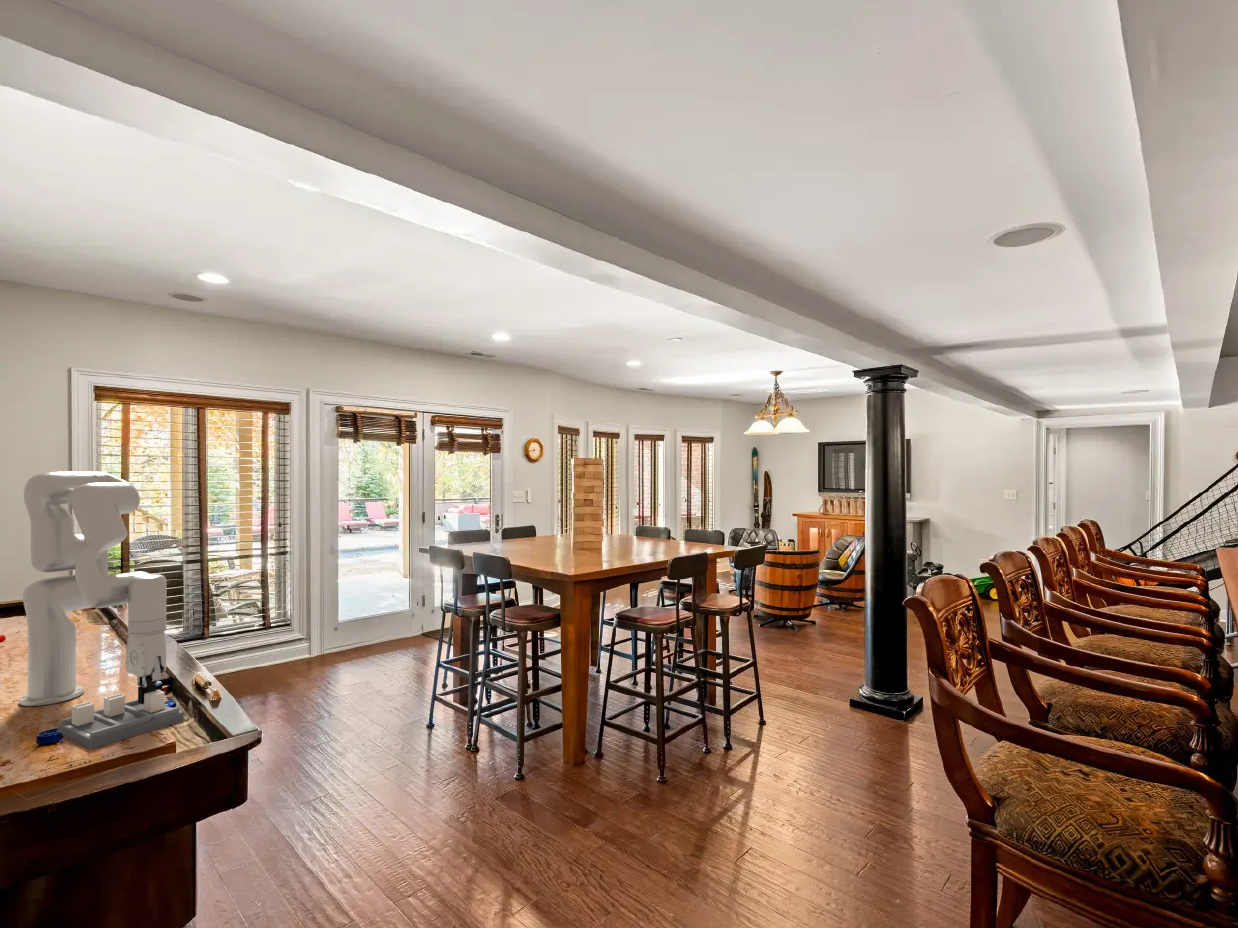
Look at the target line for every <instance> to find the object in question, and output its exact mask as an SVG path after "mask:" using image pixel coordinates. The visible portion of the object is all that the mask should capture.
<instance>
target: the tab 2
mask: <svg viewBox="0 0 1238 928" xmlns="http://www.w3.org/2000/svg"><path fill="white" fill-rule="evenodd" d="M125 702H126V696H125V695H123V694H122V693H117V694H113V695H109V696H104V697H103V708H104V715H105V716H108V717H112V716H115V715H119V714H123V713H125Z"/></svg>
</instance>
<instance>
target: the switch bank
mask: <svg viewBox="0 0 1238 928" xmlns="http://www.w3.org/2000/svg"><path fill="white" fill-rule="evenodd" d="M184 715H185V714H184V711H182V710H180V707H178V706H175V707H171V706H168V705H165V709H162V710H159V711H156V712H152V713H149V712H147V711H144V704H141V703H138V698H136V699H132V700H129V701H125V713H123V714H119V715H115V716H112V717H108V716H105V715H104V707H103V708H98V709H94V722H91V723H87V724H84V725H80V726H76V725H74V724H72V716H70V717H65V718H62V719H61V722H60V723H58V724H57V732H58V731H60V732H61V733H62V734H63V735H62V736H63V737H65V738H68V740H71V741H73V742H75V743H77V744H79V745H81V746H83V747H86V748H88V749H90V750H93V749H96V748H99V747H103V746H105V745H108V744H112V743H115V742H119V741H122V740H125V739H128V738H131V737H134V736H138V735H141V734H144V733H147V732H150V731H154V730H157V729H161V728H164V727H166V726H171V725H172V724H176V723H179V722H182V721H184Z"/></svg>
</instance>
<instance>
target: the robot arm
mask: <svg viewBox="0 0 1238 928" xmlns="http://www.w3.org/2000/svg"><path fill="white" fill-rule="evenodd" d="M23 500H24V504H25V507H26V510H27V513H28V515H29V516H28V517H29V520H30V561H31V566H32V568H33V569H34V570H35V572H37V573H43V574H48V573H58V572H59V573H60V572H68V571H74V574H72V575H71V574H70V575H63V576H55V577H49V578H42V579H39V580H36V581H34V582H31V583H30V584H29V585H27V587H26V588H24V591H23V593H22V594H23V595H22V602H23V607H24V610H25V614H26V621H27V694H24V695H22V696H21V697H20V698H19V700H18V701H19V702H18V703H19V704H20V705H21V706H24V707H25V706H26V707H36V706H45V705H46V706H47V705H51V704H57V703H61V702H65V701H69V700H71V699H74V698H77V697H79V696H81V695H82V694H83V693H84V687H83V686H81V685H77V628H76V625H75V623H74V622H73V621H72V620H71V619H70V618H69V617H68V616H67V615H66V613H69V612H73V611H79V610H84V609H90V608H95V609H103V608H109V607H115V606H120V605H127V641H126V642H127V643H126V653H125V671H126V672H127V673H128V674H131V675H134V676H136V685H137V699H138V703H141V704H144V694H146V693H150V692H153V691H157V685H158V681H159V680H160V681H161V680H162V673H164V672H166V669H167V645H166V644H167V642H166V635H165V632H166V631H167V597H168V595H167V591H168V590H167V588H168V587H167V586H168V585H167V584H168V583H167V581H168V580H167V578H166V577H165V575H163V574H158V573H157V574H154V573H153V574H152V573H149V572H146V571H131V572H124V573H115V574H109V551H108V550H109V549H112V548H113V547H115V546H118V545H119V544H121V543H122V542H123V541H124V540H126V538H127V537H128V530H127V527H126V525H125V522H124V520H123V518H122V515H125V514H126V515H127V514H132V513H134V512H135V511H136V510H138V508H139V507H140V501H141V497H140V494H139V492H138V489H137V488H136V487H135V486H134V485H133V484H132V483H131V482H128V481H126V480H125V479H122V478H119V477H117V476H115V475H113V474H110V473H107V472H104V471H50V472H49V471H48V472H41V473H38V474H35V475H32V476H31V477H29V479H28V480H27V482H26V484H25V485H24V490H23ZM64 505H70V506H71V508H72V511H73V514H74V516H75V519H76V521H77V523H78V526H79V527H78V528H79V529H80V533H79V534H75V528H74V526H75V525H74V524H75V522H74V517H73V515H72V514H71V513H70V511H69V509H67V508H66V507H65V506H64Z"/></svg>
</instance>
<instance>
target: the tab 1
mask: <svg viewBox="0 0 1238 928" xmlns="http://www.w3.org/2000/svg"><path fill="white" fill-rule="evenodd" d="M94 711H95V704H94V703H92V702H91V701H85V702H82V703H77V704H74V705H71V717H72V724H74V725H76V726H80V725H84V724H87V723H91V722H94Z"/></svg>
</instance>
